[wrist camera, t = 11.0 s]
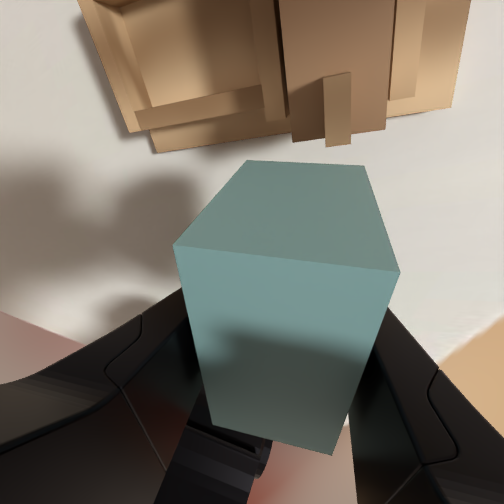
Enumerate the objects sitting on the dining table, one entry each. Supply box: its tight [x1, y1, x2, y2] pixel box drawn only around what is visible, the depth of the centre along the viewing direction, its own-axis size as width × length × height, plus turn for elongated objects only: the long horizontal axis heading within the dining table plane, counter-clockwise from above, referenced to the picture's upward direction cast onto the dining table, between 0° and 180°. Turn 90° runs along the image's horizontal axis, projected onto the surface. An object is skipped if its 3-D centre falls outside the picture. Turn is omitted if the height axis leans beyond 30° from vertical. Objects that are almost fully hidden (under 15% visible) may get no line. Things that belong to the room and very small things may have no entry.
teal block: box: [173, 160, 400, 456], centre depth 8 cm, size 4×6×5 cm, turn 2°
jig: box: [77, 0, 471, 153], centre depth 13 cm, size 10×17×3 cm, turn 101°
